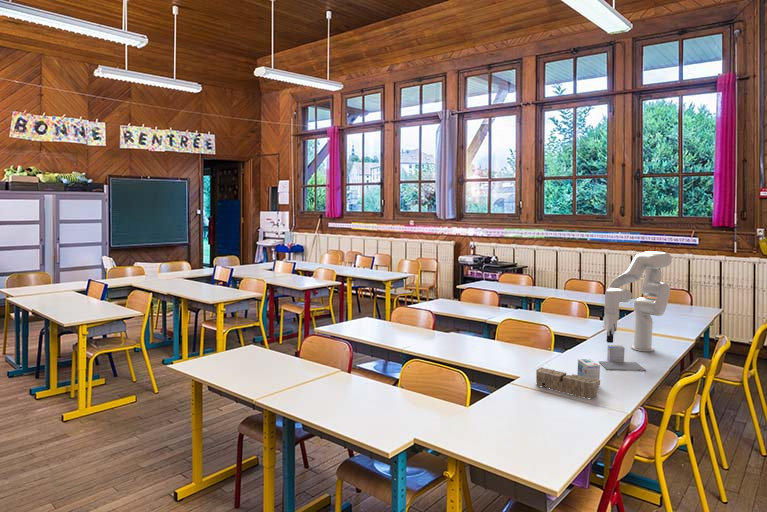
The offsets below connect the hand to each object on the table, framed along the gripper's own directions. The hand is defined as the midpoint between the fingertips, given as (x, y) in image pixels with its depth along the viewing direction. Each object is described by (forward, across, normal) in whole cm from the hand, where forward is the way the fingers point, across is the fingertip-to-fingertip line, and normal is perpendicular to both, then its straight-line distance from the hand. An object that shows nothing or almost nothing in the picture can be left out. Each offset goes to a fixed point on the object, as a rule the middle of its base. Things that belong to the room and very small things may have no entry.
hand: (609, 342), depth 308 cm
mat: (+9, +20, 0) cm, 21 cm away
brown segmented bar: (+10, +61, -39) cm, 73 cm away
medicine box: (+9, +10, 0) cm, 13 cm away
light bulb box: (+10, +50, -26) cm, 57 cm away
